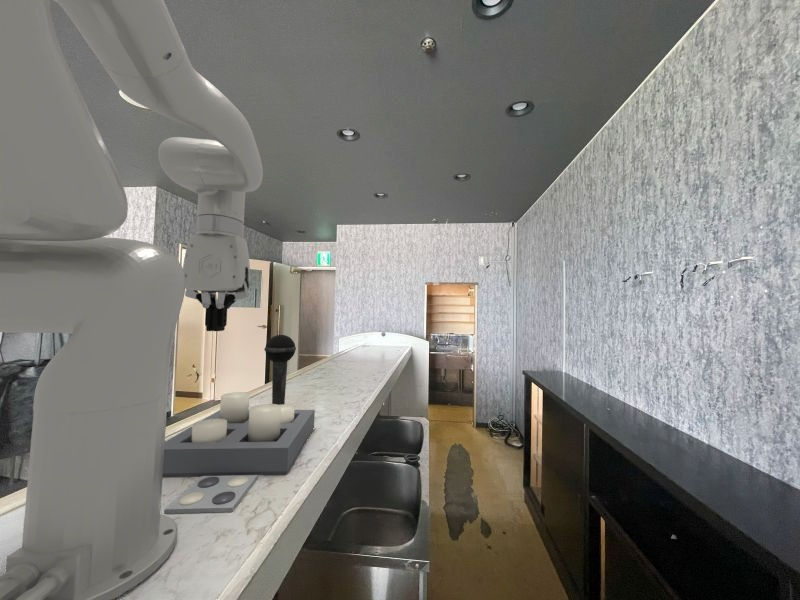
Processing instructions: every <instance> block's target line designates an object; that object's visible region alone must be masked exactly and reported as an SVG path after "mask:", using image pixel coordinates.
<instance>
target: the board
mask: <svg viewBox="0 0 800 600" xmlns="http://www.w3.org/2000/svg"><path fill="white" fill-rule="evenodd" d="M208 419H220V409H219V410H217V411H215V412H214V413H212V414H210V415H209V416H207V417H205V418H204V419H202V420H201V421H203V420H208ZM248 428H249V415H248V420H247V421H246V422H244V423H227V434H226V437H225V438H224V439H222V440H221V441H220V442H194V443H191V441H192V425H191V426H190V427H188V428H186V429H184V430H182V431H181V432H179V433H178V434H175V436H172V437H171V438H169V439H167V440H165V447H164V463H163V478H173V477H174V478H176V477H177V478H179V477H180V478H181V477H184V478H185V477H201V476H232V475H258V476H278V475H280V476H284V475H285V476H286V475H288V474H289V473H290V471H291V469H292V467H293V465H294V463H295V462H296V460H297V459H298V457H299V456H300V453H301V452H302V450H303V448H304V447H305V445H306V443H307V442H308V440H309V438H310V437H311V435H312V433H313V431H314V430H313V428H314V429H315V409H295V410H294V421H293V423H281V424H280V437H279V438H278V439H277V440H275V441H272V442H249V441H248ZM312 430H313V431H312ZM311 432H312V433H311ZM310 434H311V435H310ZM307 439H308V440H307ZM304 444H305V445H304ZM303 446H304V447H303Z"/></svg>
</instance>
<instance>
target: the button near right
mask: <svg viewBox="0 0 800 600" xmlns="http://www.w3.org/2000/svg"><path fill="white" fill-rule="evenodd" d="M280 424H281V406H280V405H278V404H272V403H265V404H263V403H262V404H258V405H253V406H252V407H249V428H248V441H249V442H272V441H275V440H277V439H278V438H279V437H280Z"/></svg>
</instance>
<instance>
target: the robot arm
mask: <svg viewBox="0 0 800 600" xmlns="http://www.w3.org/2000/svg"><path fill="white" fill-rule="evenodd" d="M53 1H54V2H55V3H57V4H58V5H59V6H60V7H61V8H62V9H63V10H64V13H66V15H67V17H68V18H69V19H70V20H71V22H72V23H73V25H74V26H75V27H76V29H77V30H78V32H79V33H80V34H81V37H83V39H84V41H85V42H86V43H87V45H88V47H90V49H91V51H92V53H93V54H94V55H95V56H96V57H97V59H98V61H99V63H100V65H102V67H103V68H104V70H105V71H106V72H107V74H108V75H109V77H110V78H111V80H112V81H113V83H114V84H115V86H116V87H117V88H118V89H119V90H120V92H122V93H123V95H125V96H126V97H128V98H129V99H130V100H132V101H133V102H135V103H137V104H139V105H140V106H143V107H144V108H147V109H149V110H151V111H153V112H155V113H157V114H159V115H161V116H164V117H165V118H167V119H170V120H173V121H174V122H177V123H180V124H182V125H185V126H188V127H189V128H192V129H194V130H196V131H199V132H201V133H202V134H205V135H206V136H208V137H210V138H212V139H206V138H205V139H202V138H193V137H184V136H183V137H182V136H176V137H175V136H171V137H168V138H167V139H165V140H162V142H161V143H160V144H159V147H158V153H157V155H158V162H159V164H160V166H161V169H162V170H163V173H165V175H166V176H167V177H169V179H170V180H171V181H172V182H174V183H175V184H177V185H179V186H180V187H182V188H185V189H186V190H188V191H190V192H193V193H196V194H197V209H196V210H197V213H196V219H195V223H191V224H190V225H189V230H190V231H191V232H194V233H195V234H191V235H190V237H189V240H188V242H187V245H186V249H185V253H184V260H183V265H181V262H180V261H179V259H178V258H177V257H176V256H174V255H173V254H172V253H171V252H169V251H168V250H166V249H165V248H163V247H161V246H159V245H155V244H152V243H151V242H147V241H142V240H141V241H140V240H137V239H130V238H129V239H128V238H119V237H106V236H109V235H111V234H113V233H115V232H116V231H118V230H119V229H120V228H121V227H122V226H123V224H124V223H125V222H126V220H127V217H128V207H129V206H128V205H129V204H128V203H129V202H128V199H127V194H126V191H125V188H124V185H123V183H122V180H121V177H120V175H119V172H118V170H117V168H116V166H115V163H114V162H113V159H112V157H111V155H110V153H109V151H108V148H107V146H106V144H105V142H104V140H103V137H102V136H101V134H100V131H99V129H98V127H97V125H96V123H95V121H94V118H93V117H92V115H91V113H90V110H89V108H88V106H87V104H86V102H85V100H84V98H83V96H82V93H81V91H80V88H79V87H78V85H77V82H76V80H75V78H74V77H73V74H72V71H71V70H70V67H69V64H68V63H67V60H66V58H65V55H64V53H63V51H62V48H61V44H60V43H59V40H58V37H57V34H56V28H55V25H54V21H53V17H52V10H51V9H52V7H51V5H52V4H51V0H0V333H6V334H7V333H10V334H13V333H15V334H19V333H20V334H27V333H28V334H67V335H70V337H69V338H68V339H67V341H66V342H65V343H64V344H63V345H62V346H61V348H60V349H59V350H58V351H57V352H56V354H55V355H54V356H53V357H52V358H51V359H50V360H49V362H48V363H47V364H46V366H45V367H44V368H43V370H42V372H41V374H40V376H39V378H38V380H37V383H36V386H35V389H34V393H33V396H34V397H33V404H32V405H33V407H32V410H33V414H32V426H31V427H32V428H31V436H30V437H31V438H30V449H29V460H28V470H27V471H28V472H27V474H28V475H27V484H26V494H25V497H26V498H25V506H24V507H25V508H24V517H23V528H22V529H23V531H22V543H21V547H20V548H18V549H16V550H15V551H14V552H12V553H10V554H9V555H7V556H6V566H5V572H4V574H2V575H0V600H115V599H116V598H118V597H120V596H121V595H123V594H124V593H126V592H129V590H132V589H133V588H135V587H136V586H137V585H138V584H140V583H141V582H143V581H145V579H146V578H148V577H149V576H151V574H153V572H155V571H156V570H157V569H158V568H159V567H160V566H161V565H162V564H163V563H164V562H166V560H167V559H168V557H169V556H170V555H171V553H172V552H173V550H174V549H175V546H176V543H177V540H178V526H177V523H176V522H175V520H174V519H173V518H172V517H170V516H168V515H165V514H161V508H162V507H161V505H162V494H163V493H162V491H163V479H164V477H163V463H164V447H165V441H166V431H167V429H166V428H167V412H168V393H169V378H170V377H169V375H170V366H171V365H170V364H171V356H172V349H173V341H174V337H175V332H176V327H177V324H178V320H179V317H180V313H181V309H182V305H183V303H184V299H185V297H186V298H189V299H194V300H197V301H199V303H200V304H201V306H202V307H203V309H205V317H204V318H205V319H204V325H205V327H206V332H223V331H225V328H226V326H227V322H228V321H227V320H228V310H229V309H230V308H231V306H232V305H233V304H235V302H237V301H240V300H246V299H248V298H249V297H250V295H249V288H250V284H251V283H250V281H251V268H250V255H249V248H248V242H247V240H246V239H245V238H244V231H245V230H244V229H245V228H244V227H245V225H244V224H245V206H246V204H245V203H246V193H251V192H254V191H256V190H258V189H259V187H261V185H262V183H263V178H264V177H263V176H264V171H263V164H262V158H261V155H260V152H259V148H258V146H257V141H256V139H255V137H254V136H255V135H254V133H253V131H252V128H251V126H250V124H249V122H248V120H247V119H246V117H245V116H244V115H243V114H242V112H241V111H240V110H239V108H237V107H236V105H234V103H233V102H232V101H230V99H229V98H228V97H227V96H225V94H223V93H222V92H221V90H219V88H217V87H216V86H214V84H212V83H211V82H210V81H209V80H208V79H206V78H205V77H204V76H202V75H201V74H200V73H199V72H197V71H196V70H195V68H194V67H193V65H192V63H191V61H190V59H189V56H188V54H187V52H186V48H185V46H184V44H183V41H182V39H181V37H180V35H179V33H178V30H177V28H176V26H175V23H174V20H173V19H172V17H171V13H170V12H169V9H168V7H167V5H166V2H165V0H53ZM217 293H218V295H217Z"/></svg>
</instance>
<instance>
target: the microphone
mask: <svg viewBox="0 0 800 600" xmlns="http://www.w3.org/2000/svg"><path fill="white" fill-rule="evenodd" d="M296 350H297V347H296V345H295V342H294V340H293V339H292V338H291V337H290V336H288V335H285V334H277V335H274V336H272V337H270V339H269V340H268V341H267V342H266V344H265V347H264V352H265V355H266V358H267V359H269V360H270V361H271V362H272V364H271V365H272V366H271V367H272V368H271V369H272V370H271V371H272V372H271V373H272V374H271V375H272V376H271V377H272V378H271V379H272V381H271V382H272V383H271V384H272V385H271V386H272V387H271V390H272V391H271V395H272V397H271V401H272V402H271V404H278V405H281V404H285V403H286V402H285V400H286V388H287V387H286V386H287V376H288V375H287V374H288V362H289V361H290V360H291V359H292V358H293V356H294V355H295V352H296Z"/></svg>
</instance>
